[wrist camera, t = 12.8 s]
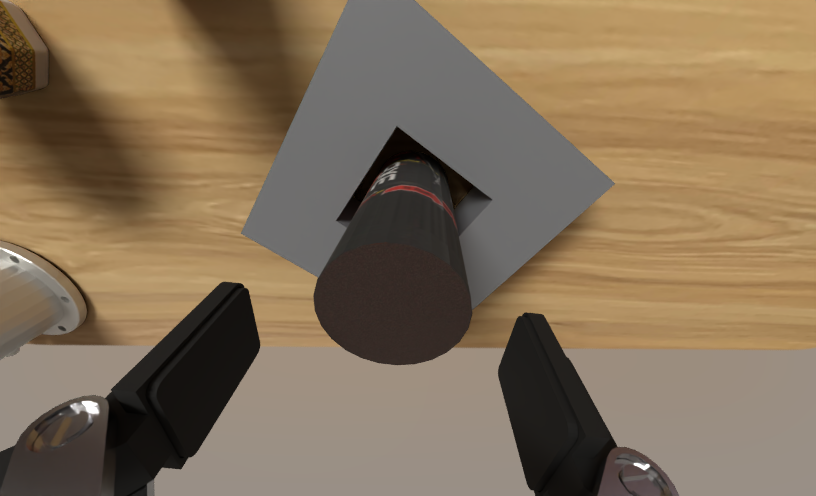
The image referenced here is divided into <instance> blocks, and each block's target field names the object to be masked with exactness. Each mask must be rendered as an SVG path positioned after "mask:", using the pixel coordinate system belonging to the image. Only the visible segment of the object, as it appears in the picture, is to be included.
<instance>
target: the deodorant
mask: <svg viewBox="0 0 816 496" xmlns="http://www.w3.org/2000/svg"><path fill="white" fill-rule="evenodd" d="M314 305H315V312H316V314H317V317H318V319H319V321H320V324H321V326H322V327H323V329H324V330H325V331H326V332H327V334H328V335H329V336H330V337H331V339H332V340H334V341H335V342H336V343H338V344H339V345H340V346H341V347H343V348H344V349H345V350H347V351H349V352H351V353H353V354H355V355H357V356H359V357H361V358H363V359H367V360H370V361H373V362H377V363H383V364H391V365H406V364H417V363H421V362H425V361H429V360H432V359H434V358H436V357H438V356H440V355H442V354H444V353H446V352H448V351H449V350H450V349H451V348H453V347H454V346H455V345H456V344H457V343H459V342H460V340H461V339H462V337H463V336H464V334H465V333H466V331H467V330H468V328H469V324H470V320H471V316H472V304H471V295H470V290H469V285H468V280H467V275H466V270H465V265H464V260H463V255H462V250H461V245H460V240H459V235H458V230H457V224H456V219H455V214H454V209H453V204H452V199H451V194H450V189H449V184H448V179H447V176H446V174H445V171H444V169H443V168H442V166H441V165H440V164H439V162H438V161H437V160H435V159H434V158H433V157H431V156H430V155H427V154H425V153H422V152H417V151H407V152H401V153H399V154H397V155H395V156H392V157H391V158H390V159H389V160H388V161H387V162H385V164H384V165H383V167H382V168H381V170H380V171H379V173H378V175H377V177H376V178H375V180H374V182H373V184H372V185H371V187H370V189H369V191H368V192H367V194H366V196H365V198H364V199H363V201H362V203H361V205H360V206H359V208H358V210H357V211H356V213H355V215H354V217H353V218H352V220H351V222H350V224H349V225H348V227H347V229H346V231H345V232H344V234H343V236H342V238H341V239H340V241H339V243H338V245H337V246H336V248H335V250H334V252H333V253H332V255H331V257H330V258H329V260H328V262H327V264H326V265H325V267H324V269H323V271H322V272H321V274H320V276H319V278H318V279H317V283H316V287H315V291H314Z"/></svg>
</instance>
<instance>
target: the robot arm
mask: <svg viewBox="0 0 816 496" xmlns="http://www.w3.org/2000/svg"><path fill="white" fill-rule="evenodd" d="M86 315H87V309H86V304H85V302H84V299H83V297H82V295H81V294H80V292H79V291H78V289H77V288H76V287H75V285H74V284H73V283H72V282H71V281H70V280H69V279H68V278H67V277H66V276H65V275H64V274H63V273H62V272H61V271H60V270H58V269H57V268H56V267H54V266H53V265H52V264H50V263H49V262H47V261H46V260H44V259H43V258H41V257H39V256H38V255H36V254H34V253H32V252H30V251H28V250H26V249H24V248H21V247H19V246H16V245H14V244H11V243H7V242H3V241H0V360H1V359H3V358H4V357H8V356H13V355H15V354H17V353H18V352H19V350H20V347H21V346H23V345H25V344H26V343H28V342H29V341H31V340H32V339H34V338H35V337H37V336H39V335H40V334H46V335H62V334H66V333H69V332H71V331H73V330H75V329H76V328H77V327H79V326H80V325H81V324H83V322H84V321H85V319H86ZM259 349H260V340H259V336H258V331H257V327H256V322H255V317H254V313H253V308H252V304H251V299H250V295H249V291H248V289H247V288H244V285H243V284H241V283H232V282H222V283H220V284H219V285H218V286H217V287H216V288H215V289H214V290H213V291H212V292H211V293H210V294H209V295H208V296H207V297H206V298H205V299H204V300H203V301H202V302H201V303H200V304H199V305H198V306H196V307H195V308H194V309H193V310H192V311H191V312H190V313H189V314H188V315H187V316H186V317H185V318H184V319H183V320H182V321H181V322H180V323H179V324H178V325H177V326H176V327H175V328H174V329H173V330H172V331H171V332H170V333H169V334H168V335H167V336H166V337H165V338H163V339H162V340H161V341H160V342H159V343H158V344H157V345H156V346H155V347H154V348H153V349H152V350H151V351H150V352H149V353H148V354H147V355H146V356H145V357H144V358H143V359H142V360H141V361H140V362H139V363H138V364H137V365H136V366H135V367H134V368H133V369H132V370H130V371H129V372H128V374H127V375H125V376H124V377H123V378H122V379H121V380H120V381H119V382H118V383H117V384H116V385H115V386H114V387H113V388H112V389H111V391H112V392H111V393H110V394H109V395H108V396H107V397H106V398H103V397H101V396H96V395H90V396H82V397H79V398H75V399H72V400H69V401H67V402H64V403H62V404H60V405H58V406H56V407H54V408H52V409H51V410H49V411H48V412H46V413H44V414H43V415H41V416H40V417H39V418H38V419H36V420H35V421H34V422H32V423H31V424H30V425H29V426H28V427H27V429H26V430H25V431H24V432H23V433H22V434H21V436H20V437H19V439H18V441H17V443H16V445H15V446H13V447H10V448H8V449H6V450H3V451H1V452H0V496H154V478H155V476H156V475H157V473H158V472H159V471H160V469H161V468H162V467H164V468H173V469H182V467H183V465H184V464H185V462H186V460H187V459H188V457H192V456H194V455H195V454H196V453H197V451H198V450H199V448H200V446H201V445H202V443H203V441H204V440H205V438H206V437H207V435H208V433H209V432H210V430H211V429H212V427H213V425H214V423H215V422H216V420H217V419H218V417H219V416H220V414H221V412H222V411H223V409H224V407H225V406H226V404H227V403H228V401H229V399H230V398H231V396H232V395H233V393H234V391H235V390H236V388H237V387H238V385H239V383H240V381H241V380H242V378H243V377H244V375H245V374H246V372H247V370H248V369H249V367H250V365H251V364H252V362H253V361H254V359H255V357H256V356H257V354H258V352H259ZM498 376H499V381H500V384H501V388H502V392H503V395H504V399H505V403H506V406H507V410H508V414H509V418H510V422H511V426H512V429H513V433H514V437H515V441H516V444H517V448H518V452H519V456H520V459H521V463H522V467H523V471H524V474H525V478H526V481H527V485H528V487H529V488H530V489H531V490H534V493H535V496H679V494H678V492H677V490H676V488H675V486H674V484H673V483H672V482H671V480H670V479H669V477H668V476H667V474H666V473H665V472H664V471H663V470H662V469H661V468H660V467H659V466H658V465H657V464H656V463H654V462H653V461H652V460H651V459H649V458H648V457H647V456H645V455H643V454H642V453H640V452H638V451H636V450H633V449H630V448H627V447H617V445H616V443H615V441H614V439H613V438H612V436H611V434H610V432H609V430H608V428H607V427H606V425H605V423H604V421H603V419H602V417H601V416H600V414H599V412H598V410H597V408H596V407H595V405H594V403H593V401H592V399H591V397H590V395H589V394H588V392H587V390H586V388H585V386H584V384H583V383H582V381H581V379H580V377H579V375H578V374H577V372H576V370H575V368H574V366H573V364H572V363H571V361H570V360H569V358H567V357H566V356H565V354H564V352H563V350H562V348H561V346H560V344H559V343H558V341H557V339H556V337H555V335H554V333H553V331H552V330H551V328H550V326H549V324H548V322H547V320H546V318H545V317H544V315H542V314H535V313H524V314H523V315H522V316H519V317H518V318H517V320H516V323H515V325H514V328H513V331H512V333H511V336H510V339H509V341H508V344H507V347H506V349H505V352H504V355H503V357H502V360H501V363H500V365H499V369H498Z"/></svg>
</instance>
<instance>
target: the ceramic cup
mask: <svg viewBox="0 0 816 496" xmlns="http://www.w3.org/2000/svg"><path fill="white" fill-rule="evenodd" d="M48 70H49V51H48V49H47V47H46V46H45V44H44V43H43V41H42V39H41V38H40V36H39V35H38V33H37V32H36V30H35V29H34V27H33V26H32V24H31V23H30V21H29V20H28V18H27V17H26V15H25V14H24V12H23V11H22V10H21V8H19V7H18V6H16V5H15V4H13V3H12V2H10V1H8V0H0V99H2V98H7V97H11V96H16V95H21V94H24V93H28V92H31V91H35V90H38V89H42V88H45V87H46V86H47V85H48Z"/></svg>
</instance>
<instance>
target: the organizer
mask: <svg viewBox="0 0 816 496" xmlns="http://www.w3.org/2000/svg"><path fill="white" fill-rule="evenodd" d="M397 127H399V128H400V129H401V130H403V131H404V132H405V133H407V134H408V135H409V136H410V137H412V138H413V139H414V140H416V141H417V142H418V143H420V144H421V145H422V146H423V147H425V148H426V149H427V150H429V151H430V152H431V153H433V154H434V155H435V156H436V157H438V158H439V159H440V160H442V161H443V162H444V163H446V164H447V165H448V166H449V167H451V168H452V169H453V170H455V171H456V172H457V173H458V174H460V175H461V176H462V177H464V178H465V179H466V180H468V181H469V182H470V183H471V184H473V185H474V187H473V188H472V189H471V190H470V191H469V193H468V194H467V195H466V196H465V197H464V198H463V200H462V201H461V202H460V203H459V204H458V205H457V206H456V208H455V209H454V214H455V219H456V224H457V230H458V235H459V240H460V245H461V250H462V255H463V260H464V265H465V270H466V275H467V280H468V285H469V290H470V295H471V304H472V310H473V309H474V308H475V307H476V306H477V305H479V304H480V303H481V302H482V301H483V300H484V299H485V298H486V297H488V296H489V295H490V294H491V293H492V292H493V291H494V290H495V289H497V288H498V287H499V286H500V285H501V284H502V283H503V282H505V281H506V280H507V279H508V278H509V277H510V276H511V275H512V274H514V273H515V272H516V271H517V270H518V269H519V268H520V267H521V266H523V265H524V264H525V263H526V262H527V261H528V260H529V259H531V258H532V257H533V256H534V255H535V254H536V253H537V252H538V251H540V250H541V249H542V248H543V247H544V246H545V245H546V244H547V243H549V242H550V241H551V240H552V239H553V238H554V237H555V236H557V235H558V234H559V233H560V232H561V231H562V230H563V229H564V228H566V227H567V226H568V225H569V224H570V223H571V222H572V221H573V220H575V219H576V218H577V217H578V216H579V215H580V214H581V213H583V212H584V211H585V210H586V209H587V208H588V207H589V206H590V205H592V204H593V203H594V202H595V201H596V200H597V199H598V198H599V197H601V196H602V195H603V194H604V193H605V192H606V191H607V190H609V189H610V188H611V187H612V186H613V185H614V184H615V183H614V182H613V181H612V180H611V179H610V178H608V177H607V176H606V175H605V174H604V173H603V172H602V171H601V170H600V169H599V168H597V167H596V166H595V165H594V164H593V163H592V162H591V161H590V160H589V159H588V158H587V157H585V156H584V155H583V154H582V153H581V152H580V151H579V150H578V149H577V148H576V147H575V146H573V145H572V144H571V143H570V142H569V141H568V140H567V139H566V138H565V137H564V136H562V135H561V134H560V133H559V132H558V131H557V130H556V129H555V128H554V127H553V126H552V125H550V124H549V123H548V122H547V121H546V120H545V119H544V118H543V117H542V116H541V115H539V114H538V113H537V112H536V111H535V110H534V109H533V108H532V107H531V106H530V105H529V104H527V103H526V102H525V101H524V100H523V99H522V98H521V97H520V96H519V95H518V94H517V93H515V92H514V91H513V90H512V89H511V88H510V87H509V86H508V85H507V84H506V83H504V82H503V81H502V80H501V79H500V78H499V77H498V76H497V75H496V74H495V73H494V72H492V71H491V70H490V69H489V68H488V67H487V66H486V65H485V64H484V63H483V62H482V61H480V60H479V59H478V58H477V57H476V56H475V55H474V54H473V53H472V52H471V51H469V50H468V49H467V48H466V47H465V46H464V45H463V44H462V43H461V42H460V41H459V40H457V39H456V38H455V37H454V36H453V35H452V34H451V33H450V32H449V31H448V30H446V29H445V28H444V27H443V26H442V25H441V24H440V23H439V22H438V21H437V20H436V19H434V18H433V17H432V16H431V15H430V14H429V13H428V12H427V11H426V10H425V9H424V8H422V7H421V6H420V5H419V4H418V3H417V2H416V1H415V0H348V2H347V4H346V6H345V8H344V10H343V12H342V15H341V17H340V19H339V21H338V23H337V25H336V28H335V30H334V32H333V34H332V36H331V39H330V41H329V43H328V45H327V47H326V49H325V52H324V54H323V56H322V58H321V60H320V62H319V65H318V67H317V69H316V71H315V73H314V76H313V78H312V80H311V82H310V84H309V86H308V89H307V91H306V93H305V95H304V97H303V99H302V102H301V104H300V106H299V108H298V110H297V113H296V115H295V117H294V119H293V121H292V123H291V126H290V128H289V130H288V132H287V134H286V136H285V139H284V141H283V143H282V145H281V147H280V150H279V152H278V154H277V156H276V158H275V160H274V163H273V165H272V167H271V169H270V171H269V173H268V176H267V178H266V180H265V182H264V184H263V187H262V189H261V191H260V193H259V195H258V197H257V200H256V202H255V204H254V206H253V208H252V210H251V213H250V215H249V217H248V219H247V221H246V224H245V226H244V228H243V230H242V232H241V234H243V235H245V236H246V237H248V238H250V239H252V240H253V241H255V242H257V243H259V244H260V245H262V246H264V247H266V248H267V249H269V250H271V251H273V252H274V253H276V254H278V255H280V256H281V257H283V258H285V259H287V260H288V261H290V262H292V263H294V264H295V265H297V266H299V267H301V268H302V269H304V270H306V271H308V272H310V273H311V274H313V275H315V276H317V277H318V278H319V276H320V274H321V272H322V271H323V269H324V267H325V265H326V264H327V262H328V260H329V258H330V257H331V255H332V253H333V252H334V250H335V248H336V246H337V245H338V243H339V241H340V239H341V238H342V236H343V234H344V232H345V231H346V229H347V227H348V225H349V224H350V222H351V220H352V218H353V217H354V215H355V213H356V211H357V210H358V208H359V206H360V205H361V202H359V201H358V200H356V199H355V198H353V195H354V194H355V192H356V190H357V189H358V187H359V186H360V184H361V183H362V181H363V180H364V178H365V176H366V175H367V173H368V172H369V170H370V169H371V167H372V166H373V164H374V163H375V161H376V159H377V158H378V156H379V155H380V153H381V152H382V150H383V149H384V147H385V145H386V144H387V142H388V141H389V139H390V138H391V136H392V135H393V133H394V132H395V130H396V128H397Z"/></svg>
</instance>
